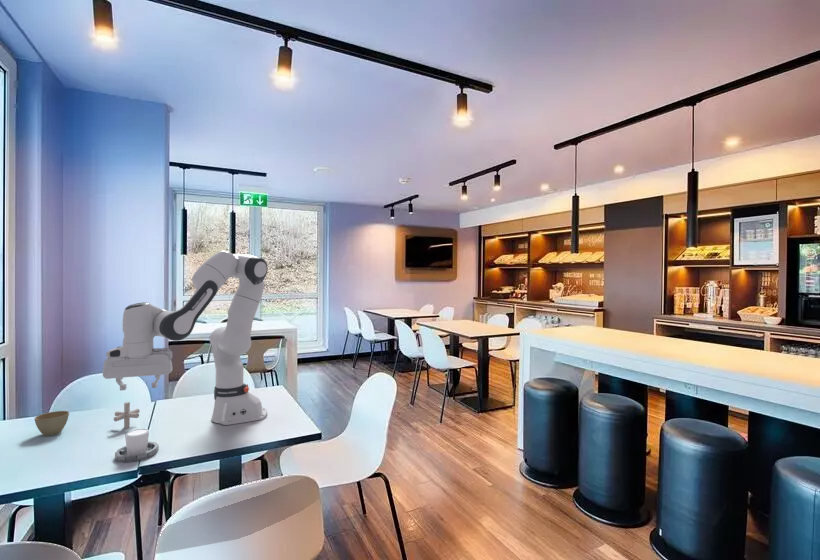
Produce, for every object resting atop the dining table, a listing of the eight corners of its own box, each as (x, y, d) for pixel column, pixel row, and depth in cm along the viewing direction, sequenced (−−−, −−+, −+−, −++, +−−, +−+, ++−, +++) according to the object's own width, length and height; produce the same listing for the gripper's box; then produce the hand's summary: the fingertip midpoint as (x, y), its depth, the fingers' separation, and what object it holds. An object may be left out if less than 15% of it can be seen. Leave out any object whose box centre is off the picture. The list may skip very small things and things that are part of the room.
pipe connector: (126, 433, 154) (126, 407, 154) (104, 430, 156) (105, 405, 156) (147, 423, 164) (147, 399, 164) (127, 421, 166) (127, 398, 166)
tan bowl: (68, 426, 160) (68, 408, 160) (70, 433, 153) (70, 415, 153) (34, 433, 154) (34, 414, 153) (34, 441, 146) (34, 421, 146)
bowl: (162, 444, 144) (162, 440, 144) (152, 459, 133) (152, 454, 133) (123, 449, 140) (123, 444, 140) (109, 464, 129) (109, 458, 129)
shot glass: (132, 448, 140) (132, 428, 139) (153, 447, 140) (153, 428, 140) (120, 457, 133) (120, 436, 133) (142, 456, 134) (142, 435, 134)
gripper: (174, 345, 145) (175, 383, 145) (107, 349, 138) (108, 388, 139) (170, 349, 139) (170, 388, 139) (100, 353, 132) (101, 394, 133)
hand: (139, 388), depth 139 cm, fingers open, 8 cm apart
